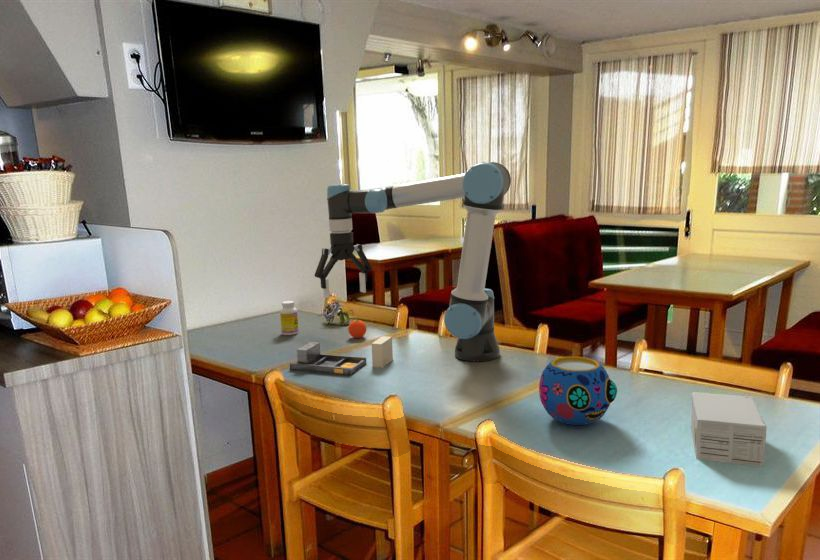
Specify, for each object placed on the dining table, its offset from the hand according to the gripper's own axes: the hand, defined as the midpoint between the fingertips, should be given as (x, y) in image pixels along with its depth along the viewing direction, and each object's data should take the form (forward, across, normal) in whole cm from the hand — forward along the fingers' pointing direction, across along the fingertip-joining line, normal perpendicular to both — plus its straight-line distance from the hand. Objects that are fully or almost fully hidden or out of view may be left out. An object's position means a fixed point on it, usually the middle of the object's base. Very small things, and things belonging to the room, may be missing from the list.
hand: (345, 295), depth 209 cm
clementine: (+22, -15, -22) cm, 35 cm away
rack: (+22, +10, +3) cm, 24 cm away
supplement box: (+24, -35, +112) cm, 120 cm away
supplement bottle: (+22, +3, -45) cm, 50 cm away
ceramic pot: (+23, -20, +82) cm, 88 cm away
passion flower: (+22, -20, -48) cm, 56 cm away
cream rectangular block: (+22, -6, +12) cm, 26 cm away
